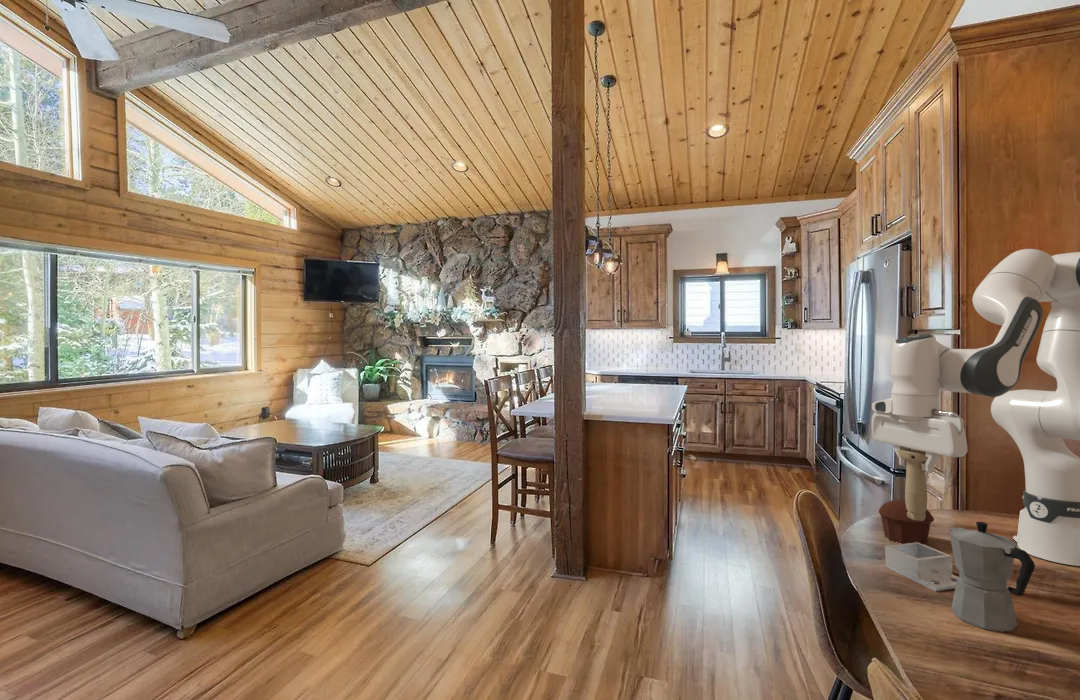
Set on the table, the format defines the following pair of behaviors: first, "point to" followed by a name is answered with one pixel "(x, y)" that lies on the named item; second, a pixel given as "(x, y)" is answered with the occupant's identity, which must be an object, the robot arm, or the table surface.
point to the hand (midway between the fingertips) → (916, 468)
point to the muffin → (903, 523)
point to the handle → (915, 483)
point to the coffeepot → (987, 577)
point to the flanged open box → (921, 565)
